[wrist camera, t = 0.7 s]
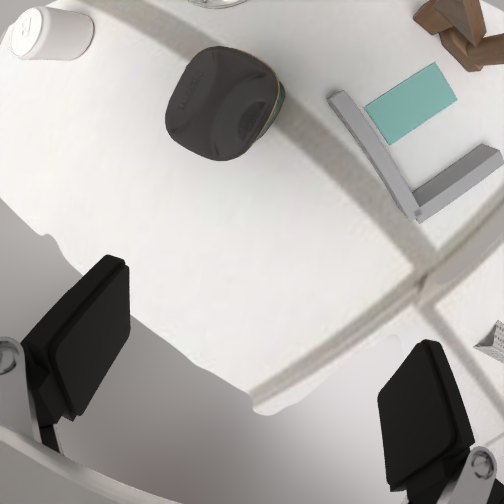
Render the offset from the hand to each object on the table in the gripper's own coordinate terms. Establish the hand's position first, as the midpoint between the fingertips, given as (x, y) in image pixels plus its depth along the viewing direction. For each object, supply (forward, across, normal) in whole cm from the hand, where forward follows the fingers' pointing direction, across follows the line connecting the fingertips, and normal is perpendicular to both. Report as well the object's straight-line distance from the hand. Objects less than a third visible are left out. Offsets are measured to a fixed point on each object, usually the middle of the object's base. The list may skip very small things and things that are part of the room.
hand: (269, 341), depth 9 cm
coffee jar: (+34, +7, -5) cm, 35 cm away
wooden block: (+34, -16, -24) cm, 45 cm away
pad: (+34, -14, -12) cm, 38 cm away
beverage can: (+34, +37, -13) cm, 52 cm away
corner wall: (+34, -15, -9) cm, 38 cm away
